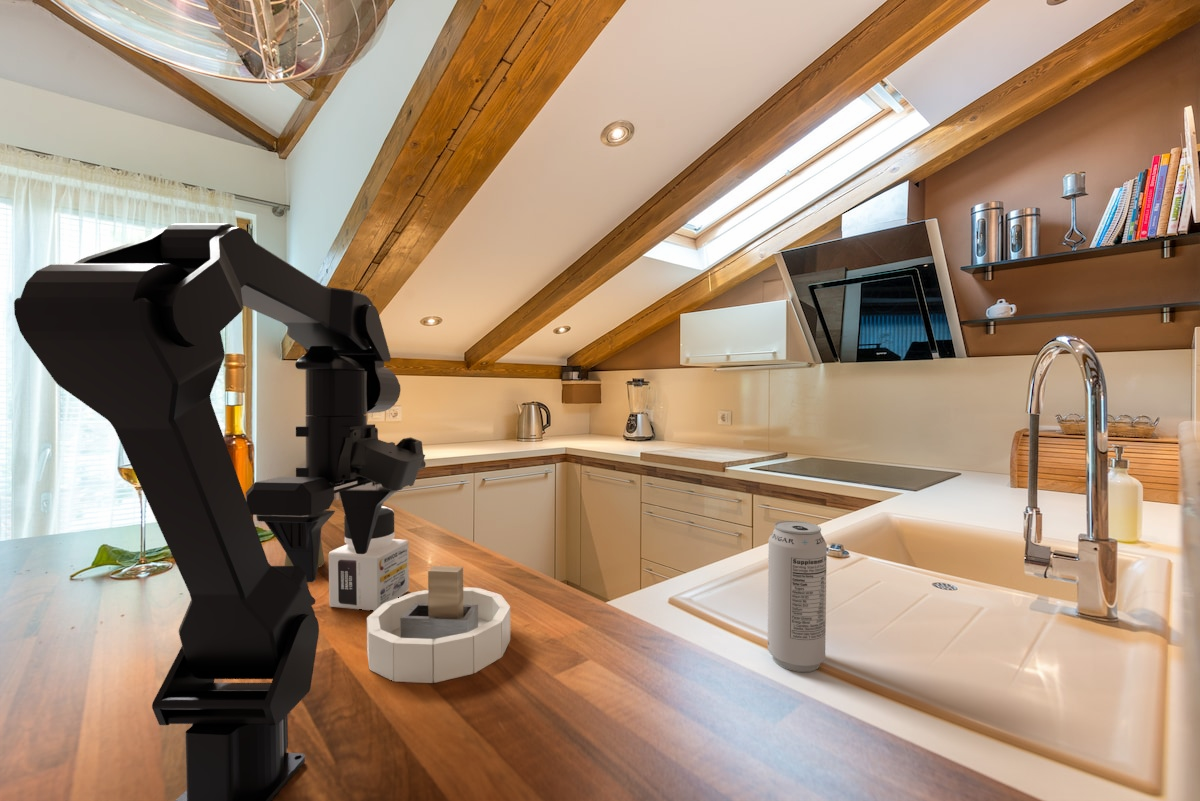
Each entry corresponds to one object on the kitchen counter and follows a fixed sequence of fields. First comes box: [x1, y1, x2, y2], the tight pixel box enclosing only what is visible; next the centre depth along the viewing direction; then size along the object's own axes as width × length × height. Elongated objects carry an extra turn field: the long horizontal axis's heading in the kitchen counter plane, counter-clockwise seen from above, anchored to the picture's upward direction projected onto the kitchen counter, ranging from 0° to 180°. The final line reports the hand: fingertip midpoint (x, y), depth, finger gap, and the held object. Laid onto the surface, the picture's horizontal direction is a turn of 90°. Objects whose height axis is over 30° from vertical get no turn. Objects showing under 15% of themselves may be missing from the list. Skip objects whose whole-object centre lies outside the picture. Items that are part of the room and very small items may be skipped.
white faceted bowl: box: [366, 586, 511, 684], centre depth 64 cm, size 16×16×4 cm
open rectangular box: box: [400, 603, 478, 639], centre depth 64 cm, size 5×8×3 cm, turn 86°
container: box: [328, 505, 410, 612], centre depth 77 cm, size 8×8×13 cm
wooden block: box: [427, 565, 464, 618], centre depth 63 cm, size 2×4×8 cm, turn 83°
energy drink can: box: [767, 520, 828, 673], centre depth 60 cm, size 6×6×15 cm
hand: (337, 566), depth 56 cm, fingers open, 9 cm apart
